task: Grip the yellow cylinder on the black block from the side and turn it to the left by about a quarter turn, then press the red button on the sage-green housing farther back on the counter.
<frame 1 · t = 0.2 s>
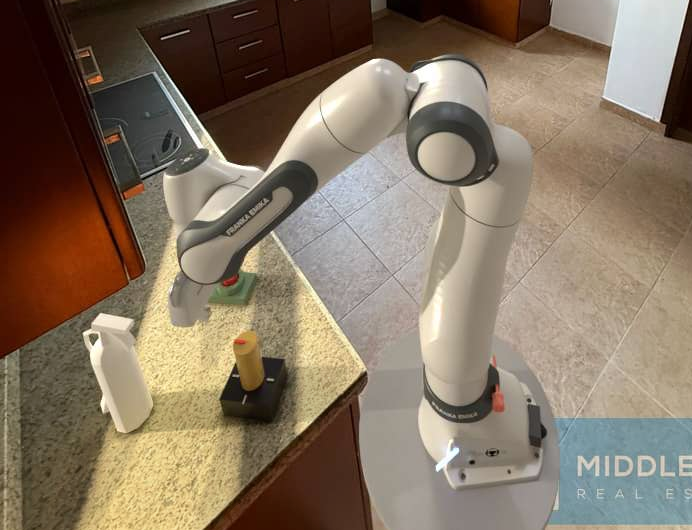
hand: (219, 292, 80), 26 cm above the counter, tool pointing down, fingers open, 8 cm apart
black block: (256, 395, 86), on the counter
button: (229, 277, 107), point 4 cm above the counter, slide at 0.1 cm
button box: (232, 290, 108), on the counter
white plastic jug: (131, 411, 85), on the counter
yellow cylinder: (249, 360, 83), point 10 cm above the counter, hinge at 0.0°
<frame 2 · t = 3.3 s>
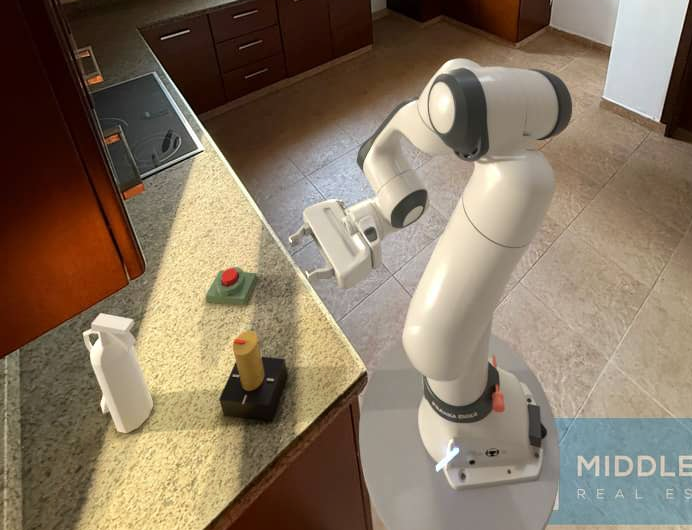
hand: (298, 259, 84), 28 cm above the counter, tool horizontal, fingers open, 8 cm apart
nothing on the counter moved.
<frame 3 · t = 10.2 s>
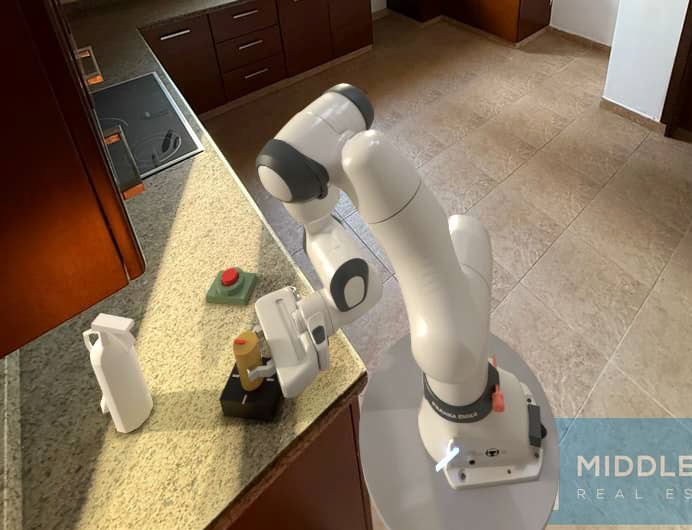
hand: (244, 362, 83), 11 cm above the counter, tool horizontal, fingers closed on yellow cylinder, 4 cm apart
yellow cylinder: (249, 360, 83), point 10 cm above the counter, hinge at 0.1°, touching gripper
everything else where it was.
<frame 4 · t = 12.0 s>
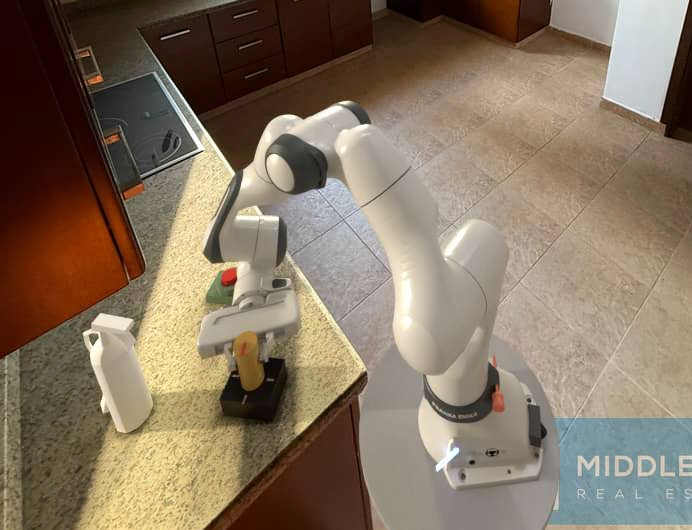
hand: (248, 365, 82), 11 cm above the counter, tool horizontal, fingers closed on yellow cylinder, 4 cm apart
yellow cylinder: (249, 360, 83), point 10 cm above the counter, hinge at 100.2°, touching gripper
everything else where it was.
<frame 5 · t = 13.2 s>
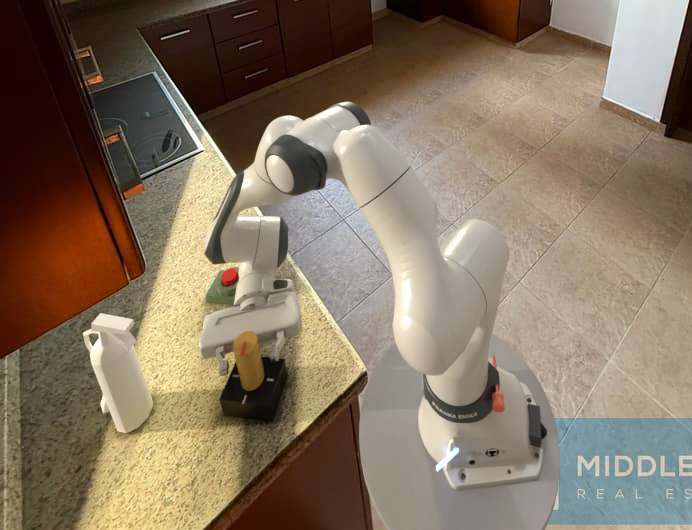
hand: (249, 366, 82), 10 cm above the counter, tool horizontal, fingers open, 8 cm apart
yellow cylinder: (249, 360, 83), point 10 cm above the counter, hinge at 101.7°
everything else where it was.
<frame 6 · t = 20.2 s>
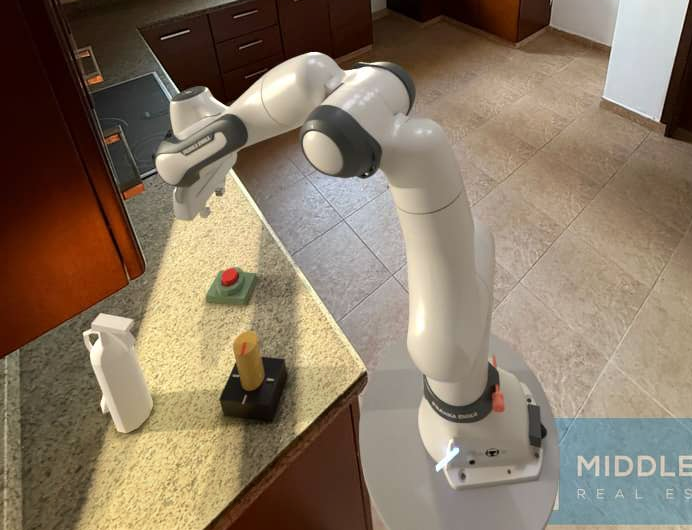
hand: (213, 204, 100), 27 cm above the counter, tool pointing down, fingers open, 5 cm apart
nothing on the counter moved.
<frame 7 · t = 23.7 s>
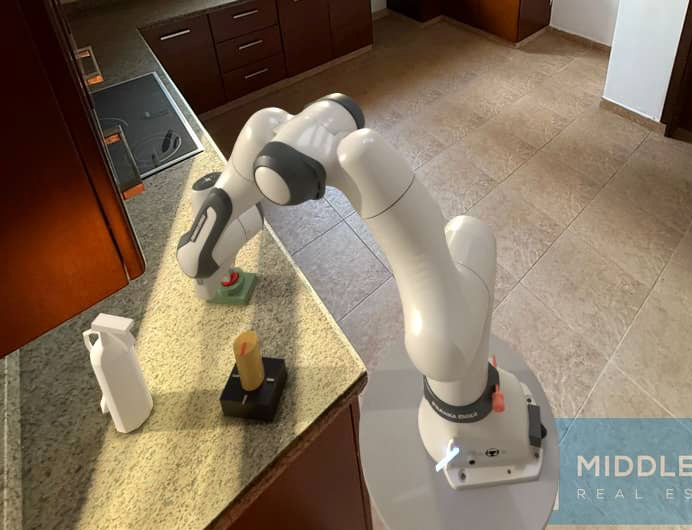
hand: (229, 276, 107), 5 cm above the counter, tool pointing down, fingers closed, pressing on button
button: (230, 279, 107), point 4 cm above the counter, slide at -0.7 cm, touching gripper
everything else where it was.
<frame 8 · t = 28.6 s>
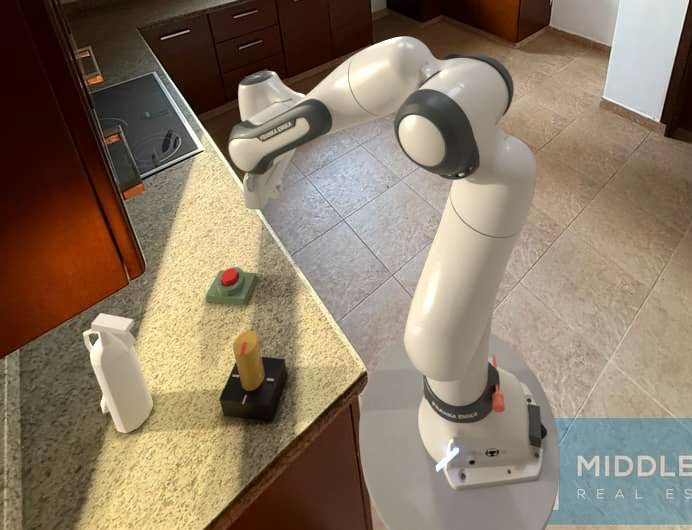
hand: (276, 194, 96), 31 cm above the counter, tool pointing down, fingers closed
button: (229, 277, 107), point 4 cm above the counter, slide at 0.1 cm
everything else where it was.
at the end: yellow cylinder at +102° (first picture: +0°); button pushed in 1.0 cm at the most during the clip, back to where it started at the end; button slide at 0.1 cm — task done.
